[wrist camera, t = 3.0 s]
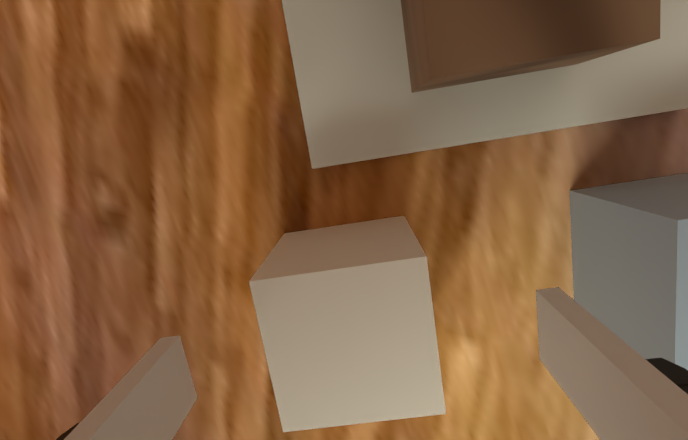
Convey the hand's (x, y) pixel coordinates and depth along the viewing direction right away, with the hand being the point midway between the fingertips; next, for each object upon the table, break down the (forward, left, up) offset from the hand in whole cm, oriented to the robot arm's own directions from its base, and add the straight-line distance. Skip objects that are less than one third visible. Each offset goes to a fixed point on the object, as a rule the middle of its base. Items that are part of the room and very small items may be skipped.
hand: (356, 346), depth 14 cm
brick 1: (0, 0, -7) cm, 7 cm away
